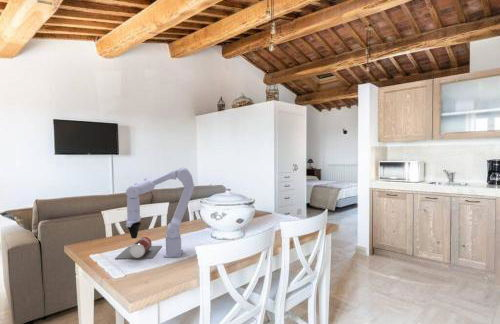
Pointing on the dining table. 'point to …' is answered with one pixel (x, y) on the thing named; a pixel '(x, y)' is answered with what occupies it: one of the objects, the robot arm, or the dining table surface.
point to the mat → (147, 255)
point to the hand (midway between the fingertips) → (134, 238)
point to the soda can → (140, 247)
